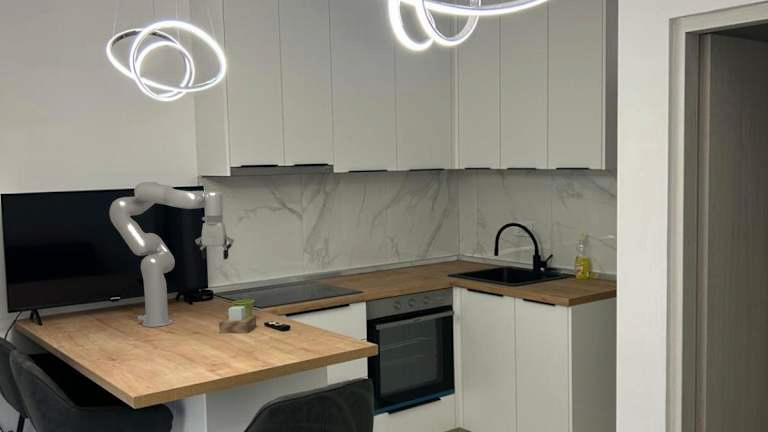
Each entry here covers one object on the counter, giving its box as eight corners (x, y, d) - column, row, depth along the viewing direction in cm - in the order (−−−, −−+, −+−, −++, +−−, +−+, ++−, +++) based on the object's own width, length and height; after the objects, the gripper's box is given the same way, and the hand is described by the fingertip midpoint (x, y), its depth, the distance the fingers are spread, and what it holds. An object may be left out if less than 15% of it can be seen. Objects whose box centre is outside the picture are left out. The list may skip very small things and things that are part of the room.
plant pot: (243, 323, 323) (242, 304, 323) (229, 321, 329) (228, 302, 328) (259, 319, 331) (258, 300, 330) (245, 317, 336) (244, 299, 336)
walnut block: (219, 334, 304) (219, 322, 304) (229, 328, 316) (228, 316, 316) (247, 334, 303) (247, 322, 302) (256, 328, 315) (255, 316, 314)
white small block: (229, 320, 307) (228, 308, 307) (233, 318, 312) (232, 306, 312) (241, 320, 306) (241, 308, 306) (245, 318, 312) (245, 306, 312)
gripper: (191, 220, 316) (192, 259, 317) (230, 220, 313) (230, 260, 314) (198, 219, 323) (199, 257, 324) (236, 219, 320) (237, 258, 322)
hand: (215, 258), depth 319 cm, fingers open, 9 cm apart
